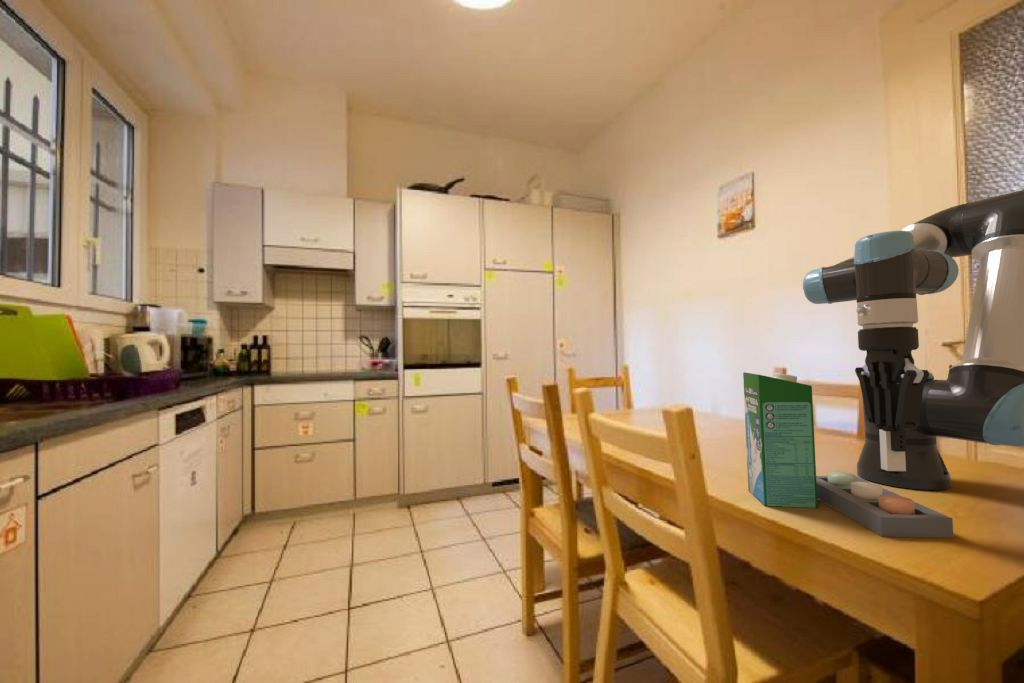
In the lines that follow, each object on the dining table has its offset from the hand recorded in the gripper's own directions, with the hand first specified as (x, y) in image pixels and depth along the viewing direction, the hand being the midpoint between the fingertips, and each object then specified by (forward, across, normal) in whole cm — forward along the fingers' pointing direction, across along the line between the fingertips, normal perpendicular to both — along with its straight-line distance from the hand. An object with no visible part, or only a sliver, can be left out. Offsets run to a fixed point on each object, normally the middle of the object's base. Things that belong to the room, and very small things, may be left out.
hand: (893, 469), depth 70 cm
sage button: (+8, -14, 0) cm, 16 cm away
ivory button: (+8, -7, 0) cm, 11 cm away
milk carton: (+10, -13, -12) cm, 20 cm away
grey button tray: (+9, -7, 0) cm, 12 cm away
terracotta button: (+8, 0, 0) cm, 8 cm away
